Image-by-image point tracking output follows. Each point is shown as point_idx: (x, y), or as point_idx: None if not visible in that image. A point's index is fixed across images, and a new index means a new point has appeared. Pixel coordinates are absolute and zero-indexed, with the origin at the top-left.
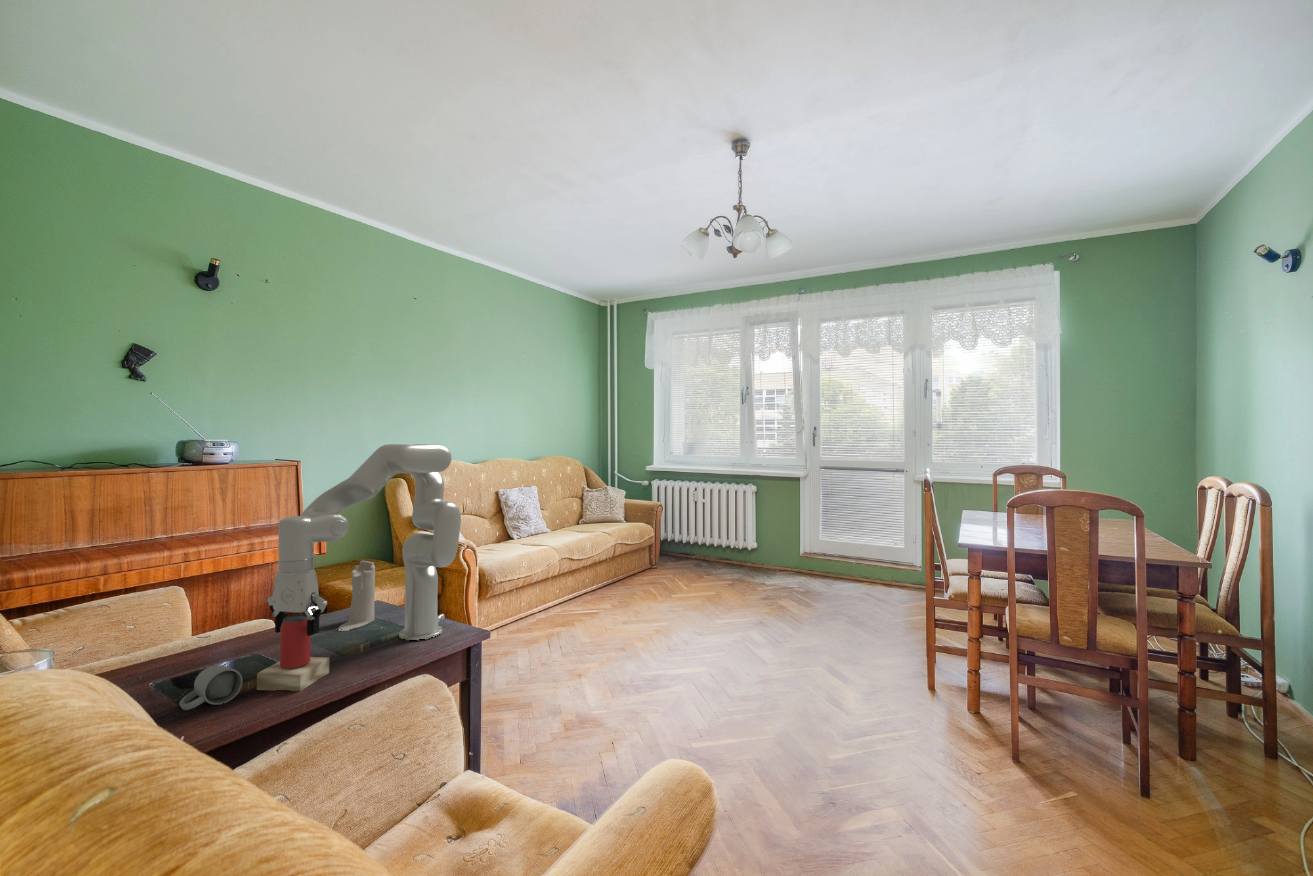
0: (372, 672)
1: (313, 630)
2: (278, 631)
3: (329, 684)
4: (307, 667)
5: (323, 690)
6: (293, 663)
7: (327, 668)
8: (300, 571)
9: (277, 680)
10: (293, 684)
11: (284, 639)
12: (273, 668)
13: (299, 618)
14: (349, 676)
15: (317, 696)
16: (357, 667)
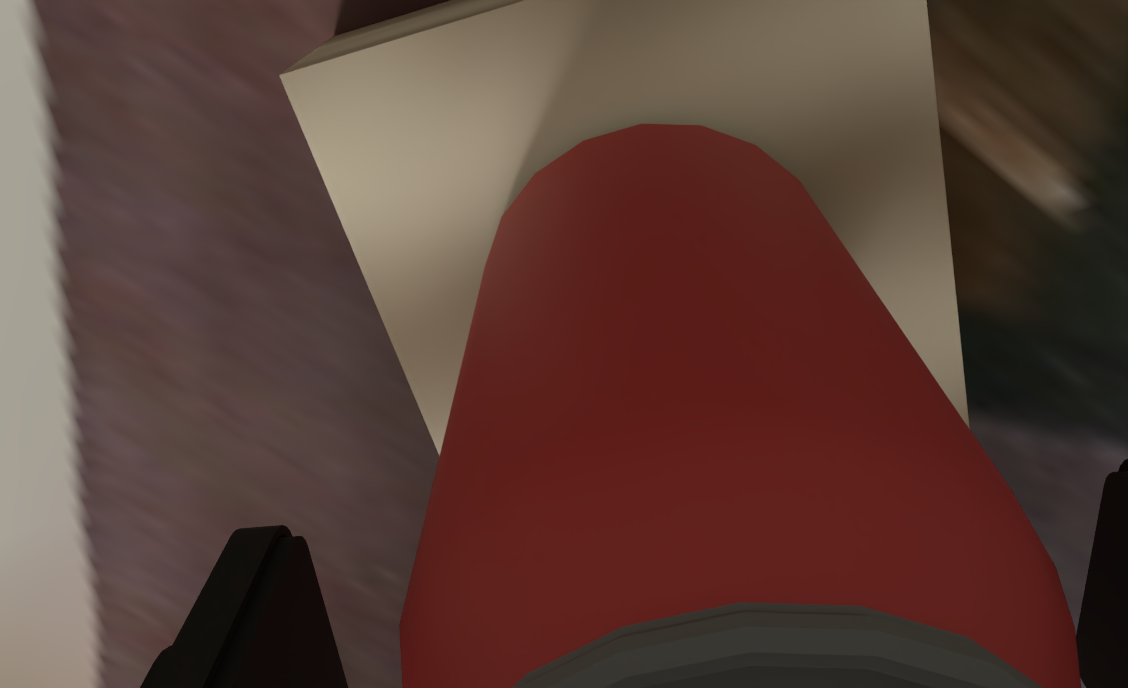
0: (143, 564)
1: (168, 651)
2: (1114, 485)
3: (230, 268)
4: (429, 275)
5: (138, 145)
6: (526, 192)
7: None
8: None
9: None
10: (394, 25)
11: (682, 288)
12: (829, 101)
13: None
14: (240, 451)
15: (38, 11)
16: (365, 596)
